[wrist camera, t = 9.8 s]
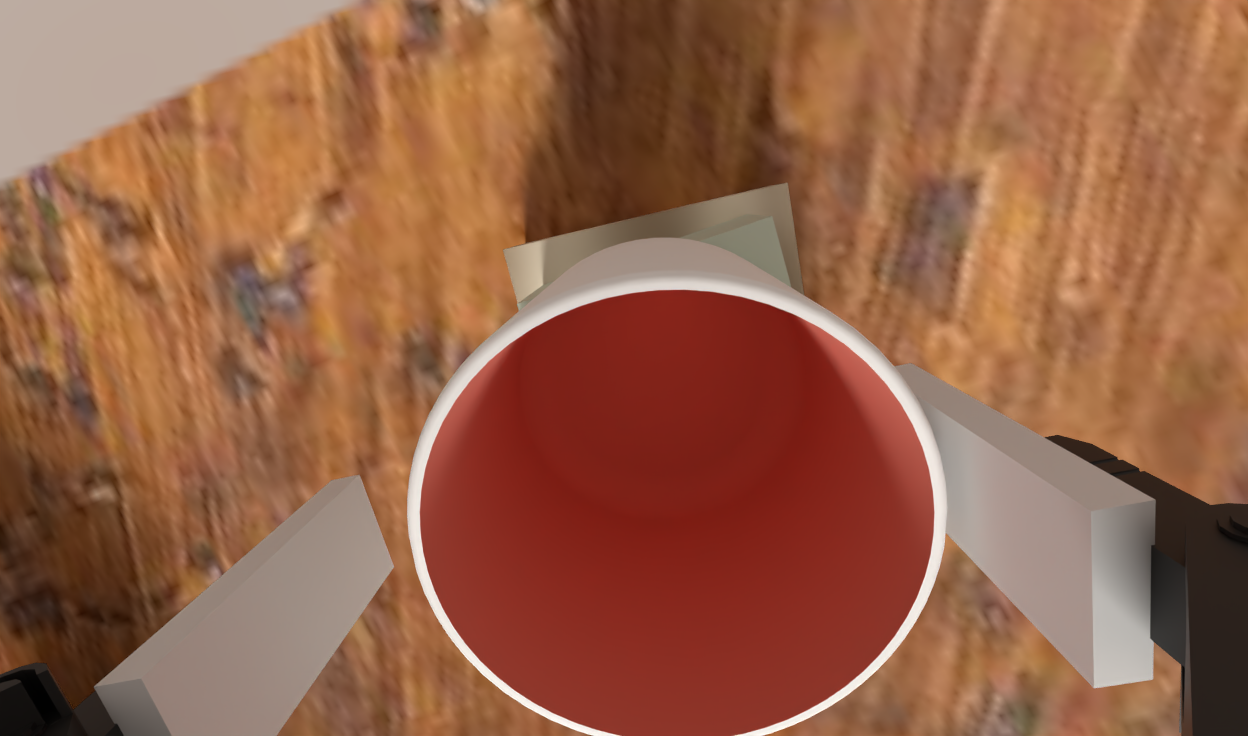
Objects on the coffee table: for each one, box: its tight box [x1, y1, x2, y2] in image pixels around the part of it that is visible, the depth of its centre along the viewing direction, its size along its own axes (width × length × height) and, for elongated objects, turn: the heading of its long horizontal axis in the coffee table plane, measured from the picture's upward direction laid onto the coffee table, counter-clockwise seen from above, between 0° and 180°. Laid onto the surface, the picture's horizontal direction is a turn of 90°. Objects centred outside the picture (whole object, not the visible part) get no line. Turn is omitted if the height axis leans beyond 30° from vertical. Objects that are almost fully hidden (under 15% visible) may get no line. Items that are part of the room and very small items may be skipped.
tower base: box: [503, 183, 804, 303], centre depth 27 cm, size 12×12×5 cm
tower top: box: [517, 214, 791, 311], centre depth 23 cm, size 9×9×5 cm
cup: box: [407, 238, 948, 736], centre depth 15 cm, size 10×10×10 cm
